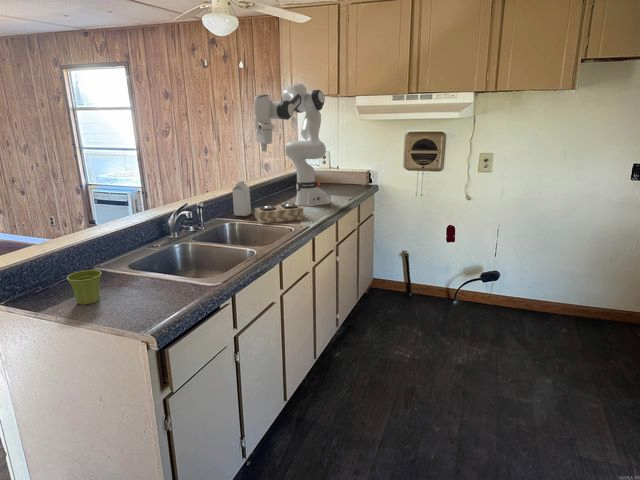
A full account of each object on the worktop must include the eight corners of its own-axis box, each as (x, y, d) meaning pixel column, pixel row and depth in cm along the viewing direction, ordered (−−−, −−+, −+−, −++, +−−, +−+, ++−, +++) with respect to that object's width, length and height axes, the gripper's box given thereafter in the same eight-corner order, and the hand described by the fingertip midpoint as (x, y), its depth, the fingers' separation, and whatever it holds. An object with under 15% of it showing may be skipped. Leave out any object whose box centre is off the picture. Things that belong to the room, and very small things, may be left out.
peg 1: (271, 217, 239) (270, 205, 237) (273, 219, 236) (272, 206, 234) (263, 218, 238) (263, 206, 236) (265, 220, 234) (265, 207, 232)
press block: (296, 214, 249) (296, 202, 247) (303, 219, 238) (303, 206, 236) (255, 218, 240) (254, 206, 238) (260, 223, 229) (259, 210, 227)
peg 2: (291, 215, 243) (291, 203, 242) (294, 217, 240) (293, 205, 238) (285, 216, 242) (284, 204, 240) (287, 217, 238) (286, 205, 237)
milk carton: (251, 213, 252) (249, 180, 247) (245, 216, 246) (243, 182, 241) (240, 213, 255) (238, 180, 249) (234, 215, 248) (231, 182, 243)
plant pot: (88, 293, 142) (83, 268, 139) (112, 296, 139) (108, 271, 137) (64, 305, 133) (59, 278, 131) (89, 309, 131) (84, 281, 128)
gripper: (253, 125, 248) (254, 150, 252) (262, 126, 230) (263, 153, 233) (263, 125, 250) (265, 149, 254) (273, 125, 232) (274, 152, 236)
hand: (264, 151), depth 244 cm, fingers closed
